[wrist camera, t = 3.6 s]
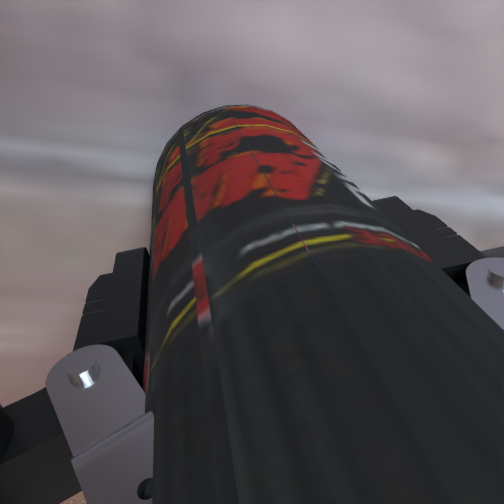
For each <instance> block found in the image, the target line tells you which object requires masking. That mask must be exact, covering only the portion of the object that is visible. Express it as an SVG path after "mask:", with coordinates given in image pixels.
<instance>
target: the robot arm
mask: <svg viewBox="0 0 504 504" xmlns="http://www.w3.org/2000/svg"><path fill="white" fill-rule="evenodd" d="M372 202H373V203H374V204H375V205H376V206H377V207H378V208H379V209H380V210H381V211H382V212H383V213H384V214H385V215H386V216H387V217H388V218H389V219H390V220H391V221H392V222H394V223H395V224H396V225H397V226H398V227H399V228H400V229H401V230H402V231H403V232H404V233H405V234H406V235H407V236H408V237H409V238H410V239H411V240H412V241H413V242H414V243H415V244H416V245H417V246H418V247H419V248H420V249H421V250H422V251H423V252H424V253H425V254H426V255H427V256H428V257H429V258H430V259H431V260H432V261H433V262H434V263H435V264H436V265H438V266H439V267H440V268H441V269H442V270H443V271H444V272H445V273H446V274H447V275H448V276H449V277H450V278H451V279H452V280H453V281H454V282H455V283H456V284H457V285H458V286H459V287H460V288H461V289H462V290H463V291H464V292H465V293H466V294H467V295H468V296H469V297H470V298H471V299H472V300H473V301H474V302H475V303H476V304H477V305H478V306H479V307H481V308H482V309H483V310H484V311H485V312H486V313H487V314H488V315H489V316H490V317H491V318H492V319H493V320H494V321H495V322H496V323H497V324H498V325H499V326H500V327H501V328H502V329H503V330H504V258H497V257H496V258H487V257H486V256H485V255H483V254H482V253H481V252H480V251H478V250H477V249H476V248H475V247H473V246H472V245H471V244H470V243H468V242H467V241H466V240H465V239H463V238H462V237H461V236H460V235H458V236H457V233H456V232H455V231H454V230H452V229H451V228H450V227H447V225H446V224H445V223H444V222H442V221H441V220H440V219H439V218H437V217H436V216H434V215H431V214H429V213H426V212H423V211H421V210H412V209H411V208H410V207H409V206H408V205H406V204H405V203H404V202H403V201H402V200H401V199H399V198H398V197H396V196H393V197H388V198H383V199H378V200H374V201H372ZM149 260H150V256H149V253H148V251H147V249H146V247H143V248H138V249H133V250H128V251H123V252H118V253H117V254H116V258H115V264H114V269H113V273H109V274H104V275H100V276H99V277H98V278H97V280H96V281H95V282H94V283H93V284H92V286H91V287H90V288H89V290H88V294H87V298H86V304H85V306H84V310H83V316H82V318H81V322H80V325H79V329H78V333H77V337H76V341H75V345H74V349H73V352H71V353H69V354H67V355H66V356H65V357H63V358H62V359H61V360H59V361H58V362H57V363H56V364H55V365H54V366H53V368H52V369H51V371H50V372H49V374H48V376H47V379H46V387H45V388H43V389H42V390H40V391H38V392H36V393H34V394H32V395H30V396H28V397H25V398H23V399H21V400H19V401H17V402H15V403H12V404H10V405H8V406H6V407H4V408H3V407H2V406H1V404H0V504H59V503H61V502H63V501H64V500H66V499H68V498H70V497H72V496H73V495H75V494H77V493H79V492H81V491H83V494H84V497H85V499H86V502H87V504H152V498H151V499H148V500H144V494H145V490H146V487H147V485H148V484H149V482H150V480H151V479H152V478H153V444H154V416H153V413H152V411H148V412H146V413H145V393H144V391H143V375H144V356H145V337H146V317H147V298H148V279H149Z"/></svg>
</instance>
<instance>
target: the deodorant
mask: <svg viewBox="0 0 504 504" xmlns="http://www.w3.org/2000/svg"><path fill="white" fill-rule="evenodd" d="M143 391H144V393H145V413H146V412H148V411H152V413H153V416H154V444H153V478H152V479H151V480H150V482H149V484H148V485H147V487H146V490H145V494H144V500H148V499H151V498H152V504H504V330H503V329H502V328H501V327H500V326H499V325H498V324H497V323H496V322H495V321H494V320H493V319H492V318H491V317H490V316H489V315H488V314H487V313H486V312H485V311H484V310H483V309H482V308H481V307H479V306H478V305H477V304H476V303H475V302H474V301H473V300H472V299H471V298H470V297H469V296H468V295H467V294H466V293H465V292H464V291H463V290H462V289H461V288H460V287H459V286H458V285H457V284H456V283H455V282H454V281H453V280H452V279H451V278H450V277H449V276H448V275H447V274H446V273H445V272H444V271H443V270H442V269H441V268H440V267H439V266H438V265H436V264H435V263H434V262H433V261H432V260H431V259H430V258H429V257H428V256H427V255H426V254H425V253H424V252H423V251H422V250H421V249H420V248H419V247H418V246H417V245H416V244H415V243H414V242H413V241H412V240H411V239H410V238H409V237H408V236H407V235H406V234H405V233H404V232H403V231H402V230H401V229H400V228H399V227H398V226H397V225H396V224H395V223H394V222H392V221H391V220H390V219H389V218H388V217H387V216H386V215H385V214H384V213H383V212H382V211H381V210H380V209H379V208H378V207H377V206H376V205H375V204H374V203H373V202H372V201H371V200H370V199H369V198H368V197H367V196H366V195H365V194H364V193H363V192H362V191H361V190H360V189H359V188H358V187H357V186H356V185H355V184H354V183H353V182H352V181H351V180H349V179H348V178H347V177H346V176H345V175H344V174H343V173H342V172H341V171H340V170H339V169H338V168H337V167H336V166H335V165H334V164H333V163H332V162H331V161H330V160H329V159H328V158H327V157H326V156H325V155H324V154H323V153H322V152H321V151H320V150H319V149H318V148H317V147H316V146H315V145H314V144H313V143H312V142H311V141H310V140H309V139H308V138H307V137H305V136H304V135H303V134H302V133H301V132H300V131H299V130H298V129H297V128H296V127H295V126H294V125H293V124H292V123H291V122H290V121H288V120H287V119H285V118H283V117H281V116H280V115H278V114H276V113H275V112H273V111H271V110H267V109H263V108H259V107H255V106H251V105H231V106H223V107H219V108H216V109H213V110H210V111H207V112H204V113H202V114H200V115H199V116H197V117H195V118H194V119H192V120H191V121H189V122H188V123H186V124H184V125H183V126H182V127H181V128H180V129H179V130H178V131H177V132H176V134H175V135H174V136H173V137H172V138H171V139H170V140H169V141H168V143H167V144H166V146H165V148H164V150H163V152H162V154H161V156H160V158H159V161H158V163H157V167H156V173H155V179H154V184H153V203H152V222H151V241H150V260H149V279H148V298H147V317H146V337H145V356H144V375H143Z"/></svg>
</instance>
